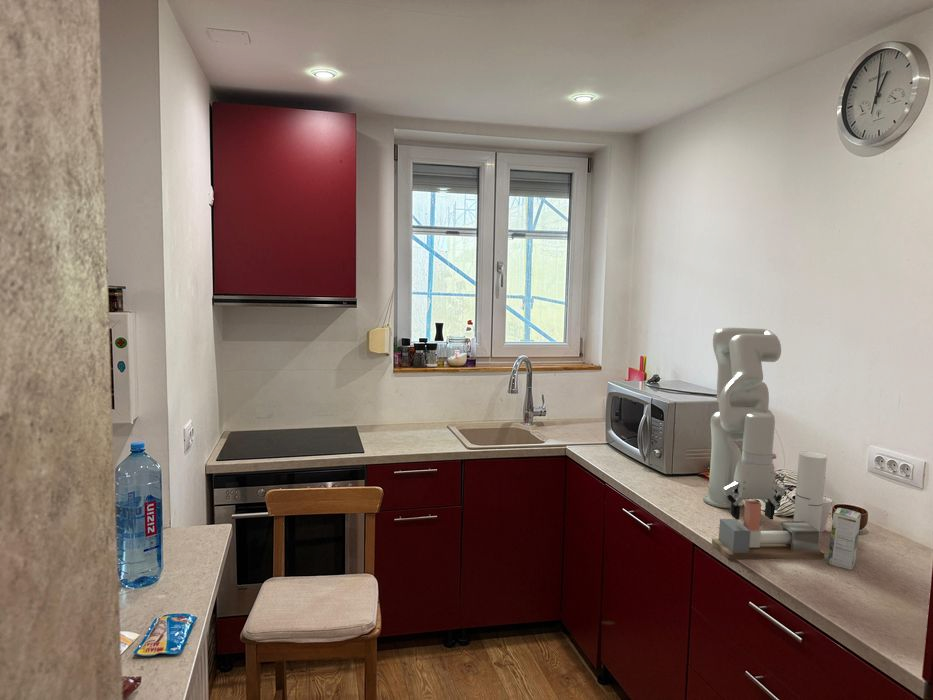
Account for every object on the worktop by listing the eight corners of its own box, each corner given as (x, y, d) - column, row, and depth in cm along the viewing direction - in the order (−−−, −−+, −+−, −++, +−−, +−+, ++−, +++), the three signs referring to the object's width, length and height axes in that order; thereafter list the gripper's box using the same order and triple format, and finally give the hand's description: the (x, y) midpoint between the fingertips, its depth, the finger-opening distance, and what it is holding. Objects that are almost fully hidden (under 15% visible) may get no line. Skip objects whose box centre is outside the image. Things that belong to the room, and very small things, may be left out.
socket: (718, 540, 179) (720, 518, 178) (733, 539, 179) (735, 518, 179) (732, 553, 171) (734, 530, 170) (748, 552, 171) (750, 530, 170)
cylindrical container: (795, 529, 192) (802, 449, 189) (821, 535, 187) (829, 454, 184) (789, 536, 186) (796, 454, 183) (816, 543, 182) (824, 459, 179)
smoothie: (826, 526, 194) (830, 483, 193) (832, 534, 188) (836, 489, 187) (803, 524, 196) (807, 480, 194) (809, 532, 190) (813, 487, 188)
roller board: (711, 543, 180) (713, 519, 179) (802, 543, 182) (804, 519, 181) (728, 559, 170) (730, 533, 169) (824, 559, 172) (826, 533, 171)
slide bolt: (732, 540, 177) (735, 499, 176) (786, 540, 178) (790, 499, 177) (740, 547, 173) (743, 505, 171) (796, 547, 174) (799, 505, 172)
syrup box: (831, 557, 173) (836, 506, 171) (856, 563, 169) (861, 512, 167) (827, 564, 169) (832, 512, 167) (852, 571, 165) (858, 518, 163)
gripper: (779, 454, 177) (774, 512, 179) (719, 453, 175) (715, 512, 178) (794, 462, 169) (789, 523, 171) (732, 461, 168) (728, 523, 170)
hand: (752, 517), depth 174 cm, fingers open, 9 cm apart
